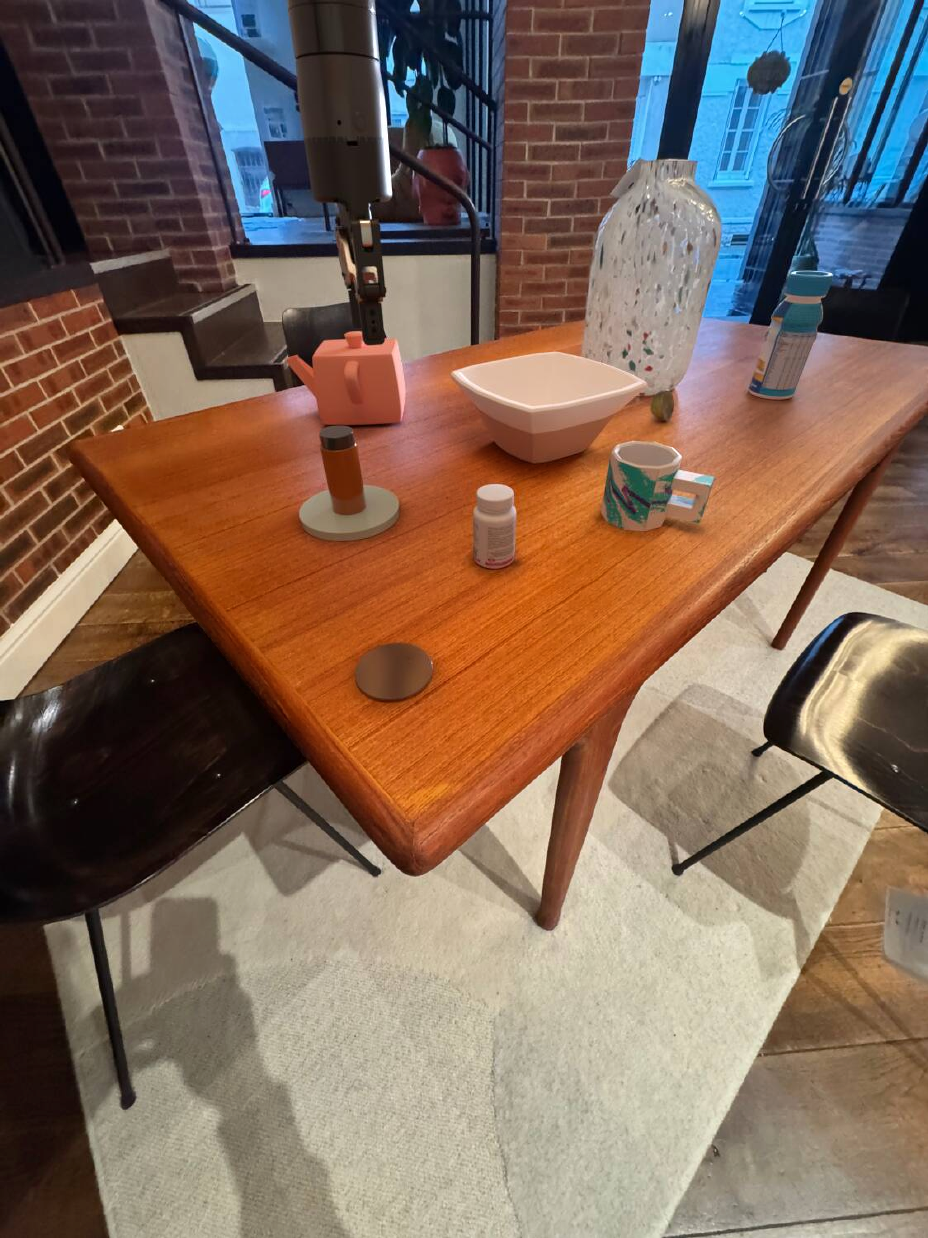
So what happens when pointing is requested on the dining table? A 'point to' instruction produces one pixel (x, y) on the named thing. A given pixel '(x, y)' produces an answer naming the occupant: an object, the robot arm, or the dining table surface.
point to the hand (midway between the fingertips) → (368, 335)
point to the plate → (350, 516)
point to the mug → (651, 487)
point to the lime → (662, 405)
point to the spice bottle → (342, 469)
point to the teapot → (355, 381)
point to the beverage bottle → (790, 336)
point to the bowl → (546, 401)
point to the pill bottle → (494, 526)
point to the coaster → (393, 672)
